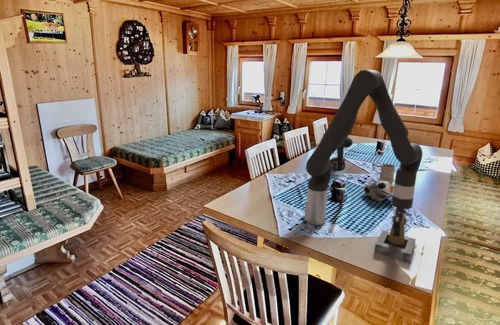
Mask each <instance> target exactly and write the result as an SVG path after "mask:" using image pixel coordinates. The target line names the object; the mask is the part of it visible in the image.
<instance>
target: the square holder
mask: <svg viewBox="0 0 500 325" xmlns="http://www.w3.org/2000/svg"><path fill="white" fill-rule="evenodd" d="M390 232H391V231H386V230H383V229H382V231H381V232H380V234H379V236H378V239H377V241H376V242H375V244H374V245H375V246H374V251H373V252H374V253H375V254H377V255H381V256H384V257H388V258H391V259H394V260H397V261H401V262H404V263H408V264H410V263H411V259H412V256H413V253H414V250H415V245H416V239H417V238H412V237H411V236H410V237H409V236H405V235H404V244H401V245H397V244H393V243H391V242H390V241H389V240H388V238H389V235H390Z"/></svg>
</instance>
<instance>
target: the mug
mask: <svg viewBox="0 0 500 325" xmlns="http://www.w3.org/2000/svg"><path fill="white" fill-rule="evenodd" d="M377 164H378V165H379V168H380V171H379V170H376V169H375V165H377ZM372 168H373V170H374V172H377V173H378V174H379V177H378V179H377V180H378V181H387V182H389V183H395V178H394V177H395V176H394V175H395V171H396V170H395V169H396V166H395V165H394V164H391V163H382V164H381V162H380V161H376V162H375V163H374V164H373V165H372Z"/></svg>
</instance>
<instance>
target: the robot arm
mask: <svg viewBox="0 0 500 325" xmlns="http://www.w3.org/2000/svg"><path fill="white" fill-rule="evenodd" d="M368 96H369V98H370V99H371V100H372V102H373V103H374V105H375V107H376V111H377V113H378V118H379V121H380V124H381V126H382V128H383V130H384V132H385V134H386V135H387V137H388V139H389V141H390V144H391V148H392V152H393V154H394V156H395V158H396V160H397V161H398V162H399V163H400V166H399V167H398V168H397V170H396V173H395V176H394V177H395V178H394V180H395V181H394V184H393V186H394V187H393V193H392V194H391V201H390V203H391V205H392V206H393V207H394V208H395V210H394V213H393V216H394V220H393V221H394V222H392V225H393V228H394V232H393V236H397V237H399V234H400V229H401V224H402V223H403V220H404V217H405V218H406V214H407V210H410V209H412V208H413V203H414V198H415V190H416V189H415V188H416V181H417V174H418V171H419V167H420V165H421V162H422V158H423V150H422V149H423V148H422V147H421V146H420V145H419V144H417V143H415V142H410V139H409V137H408V136H409V131H408V128H407V127H406V124H405V123H404V121H403V119H402V118H401V116H400V115H399V112H398V111H397V109H396V107H395V104H394V103H393V100H392V99H391V96H390V94H389V91H388V88H387V86H386V82H385V80H384V78H383V76H382V74H381V72H379V71H378V70H375V69H363V70H360V71H358V72H357V73H356V74H355V75H354V77H353V78H352V81H351V82H350V85H349V88H348V90H347V92H346V94H345V97H344V98H343V100H342V102H341V104H340V106H339V107H338V109H337V111H336V112H335V115H333V117H332V119H331V121H330V123H329V125H328V127H327V129H325V132H324V133H323V134H324V136H323V135H322V138H321V139H320V141H319V144H318V145H317V147H316V149H314V152H312V154H311V155H310V156H309V158H308V160H307V161H306V164H305V170H306V172H307V174H308V175H309V176H310V179H309V180H308V182H307V196H306V201H305V203H304V218H303V219H304V221H305V222H307V223H308V224H310V225H314V226H319V225H324V224H325V223H326V216H327V205H328V204H327V200H328V188H329V184H330V181H331V174H332V168H331V167H332V164H331V158H332V156H333V154H334V153H335V152H337V149H338V148H339V147H340V145H341V144H342V143H343V142H344V141H345V140H346V138H347V137H348V138H349V136H350V133H352V130H353V129H354V127H355V125H356V123H357V122H356V121H357V117H358V113H359V110H360V107H361V106H362V105H363V103H364V101H365V100H366V99H367V98H368ZM401 219H402V221H401Z"/></svg>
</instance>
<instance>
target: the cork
mask: <svg viewBox="0 0 500 325" xmlns="http://www.w3.org/2000/svg"><path fill="white" fill-rule="evenodd" d="M391 220H392V223H393V222H394V221H393V220H394V215H393V216H392V219H391ZM401 221H402V219H401ZM407 222H408V221H407V218H406V216H405V217H404V220H403V223H402V224H401V229H400V234H399V237H397V236H393V232H394V228H393V224H392V226H391V228H390V231H389V232H390V235H389V238H388V240H389V241H390V242H391V243H393V244H397V245H401V244H404V236H405V225H406V224H407Z"/></svg>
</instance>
